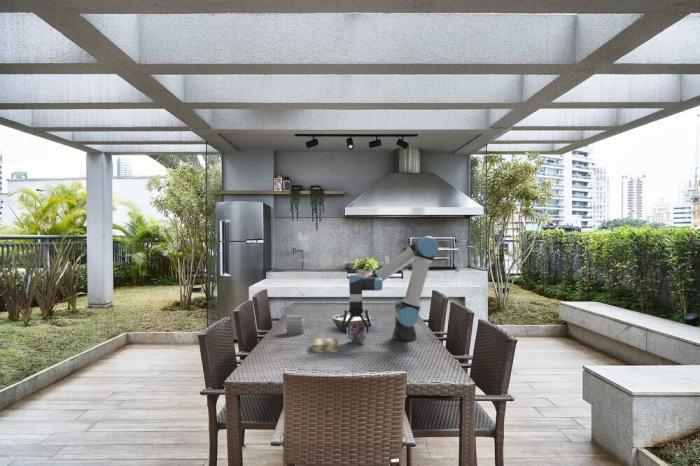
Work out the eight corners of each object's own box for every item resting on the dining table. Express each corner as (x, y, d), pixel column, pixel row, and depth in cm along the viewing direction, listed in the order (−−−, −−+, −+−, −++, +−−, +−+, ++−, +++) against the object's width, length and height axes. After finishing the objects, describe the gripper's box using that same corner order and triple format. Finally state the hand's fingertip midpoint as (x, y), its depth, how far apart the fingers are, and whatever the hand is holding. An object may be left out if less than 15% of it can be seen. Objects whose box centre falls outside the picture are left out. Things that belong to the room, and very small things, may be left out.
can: (307, 334, 308) (307, 315, 308) (291, 336, 302) (291, 317, 302) (299, 331, 318) (299, 313, 318) (283, 333, 311) (283, 314, 311)
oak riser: (337, 345, 276) (337, 338, 276) (338, 352, 261) (338, 344, 261) (313, 346, 275) (313, 339, 275) (312, 352, 260) (312, 344, 260)
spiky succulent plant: (367, 338, 276) (354, 322, 277) (352, 349, 277) (340, 333, 279) (370, 334, 287) (357, 318, 288) (355, 345, 289) (343, 329, 290)
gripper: (374, 299, 286) (374, 336, 286) (336, 300, 285) (337, 337, 285) (375, 301, 279) (376, 339, 279) (336, 302, 278) (337, 340, 277)
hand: (356, 338), depth 282 cm, fingers closed on spiky succulent plant, 10 cm apart
